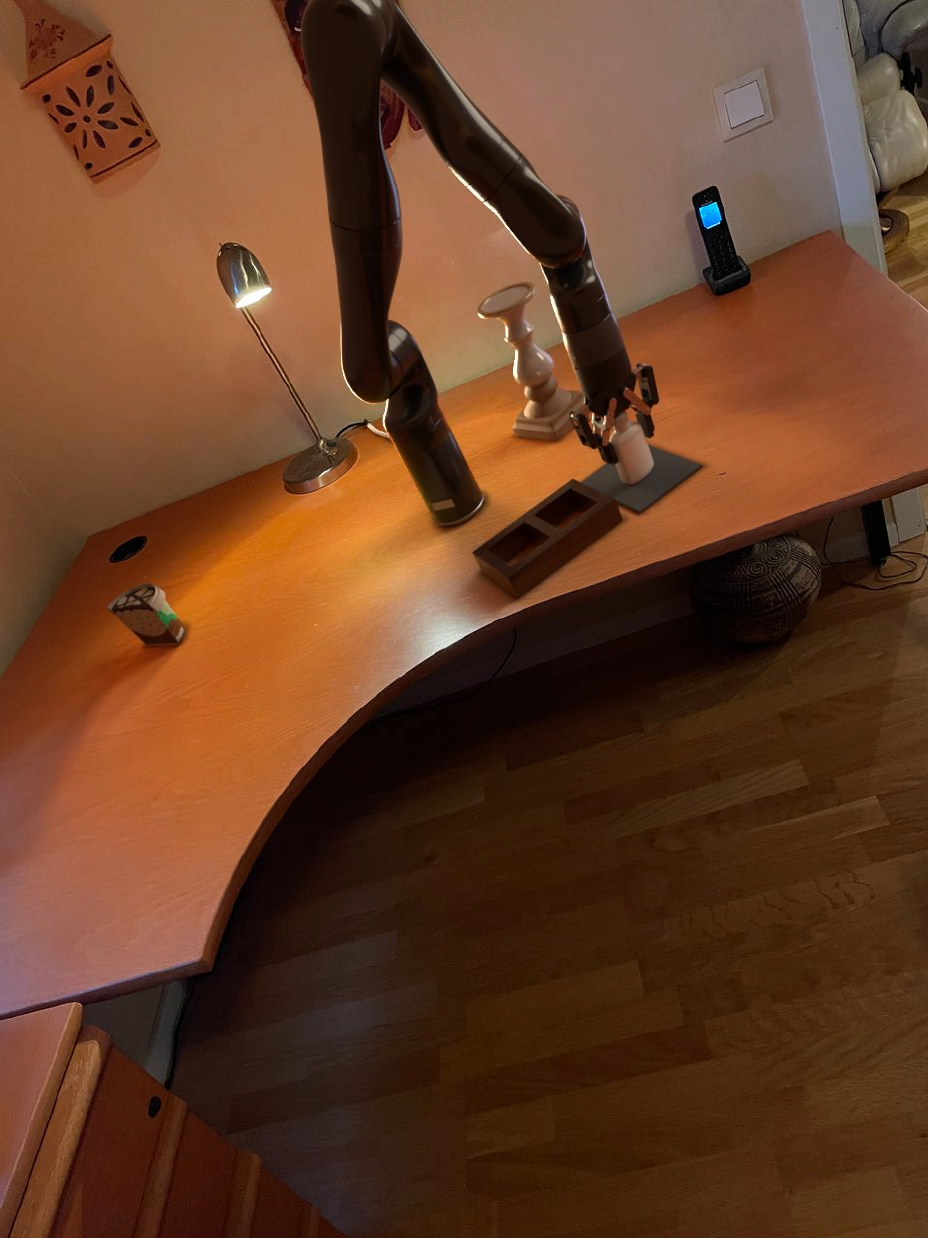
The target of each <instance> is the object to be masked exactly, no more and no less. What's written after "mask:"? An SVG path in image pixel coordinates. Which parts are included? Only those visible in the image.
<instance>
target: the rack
mask: <svg viewBox="0 0 928 1238" xmlns="http://www.w3.org/2000/svg"><path fill="white" fill-rule="evenodd" d="M581 482H582V481H579V480H577V479H575V478H571V479H570V480H569V481H567V482H566V483H565V484H563V485H562V486H560V487H559V488H557V489H556V490H555V491H554V492H552V493H550V494H549V495H547V497H545V498H543V499H542V500H541V501H540V502H538V503H537V504H536V505H534V506H533V507H532V508H530V509H529V510H527V511H526V512H524V514H522V515H521V516H519V517H518V518H517V519H515V520H513V521H512V522H511V523H509V524H508V525H507V526H505V527H504V528H503V529H501V530H500V531H499V532H497V533H496V534H495V535H493V536H492V537H490V538H489V539H488V540H487V541H485V542H484V543H483V544H481V545H480V546H478V547H477V548H476V549H474V550H472V551H471V554H472V555H473V558H474V560H475V561H476V563H477V565H478V567H479V569H480V571H481V573H483V574H484V575H486V576H487V577H488V578H490V579H491V580H492V581H493V582H495V583H496V584H497V585H499V586H500V587H502V588H503V589H505V591H507V592H509V594H511V595H513V596H514V597H515V598H516V599H519V600H520V598H522V597H523V596H524V595H526V594H528V593H529V592H530V591H531V590H533V589H534V588H535V587H537V586H538V585H539V584H541V583H542V582H543V581H544V580H546V579H547V578H549V576H551V575H553V574H554V573H556V571H558V570H559V569H561V568H562V567H563V566H564V565H566V564H567V563H569V562H570V561H571V560H572V559H574V558H575V557H576V556H577V555H579V554H580V553H582V552H583V551H584V550H586V549H587V548H588V547H590V546H591V545H592V544H594V543H595V542H596V541H598V540H599V539H600V538H602V537H603V536H604V535H605V534H607V533H608V532H609V531H611V530H612V529H613V528H615V527H616V526H618V525H619V524H620V523H621V522H623V521H624V519H623V516H622V514H621V510H620V507H619V504H618V502H616V499H615V498H613V497H611V496H609V495H606V494H604V493H602V492H600V491H598V490H596V489H594V488H592V487H589V486H587V485H585V484H583V483H581ZM578 510H579V511H582V512H583V513H582V514H580V515H578V516H577V517H576V518H575V519H573V520H572V521H570V522H569V523H568V524H567V525H565V526H563V528H561V529H559V528H558V527H557V526H558V525H559V524H560V523H563V521H565V520H566V519H567V518H569V517H570V516H572V515H573V514H574V513H575V512H577V511H578ZM533 543H535V544H536V545H538V546H537V547H536V548H534V549H533V550H531V551H530V552H529V553H527V554H526V555H525V556H524V557H522V558H521V559H519V560H518V561H517V562H515V563H514V564H512V565H511V564H509V563H508V562H509V561H510V560H512V559H513V558H515V557H517V555H518V554H520V553H521V552H523V551H524V550H525V549H527V548H528V547H529V546H531V545H532V544H533Z"/></svg>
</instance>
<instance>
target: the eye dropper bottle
mask: <svg viewBox="0 0 928 1238" xmlns="http://www.w3.org/2000/svg"><path fill="white" fill-rule="evenodd" d="M628 415H629V414H628V412H627V410H626V411H623V412H621V413H620V414H619V415H618V417H616V418H615V419H614V421H613V432H612V433H611V434H610V438H609V442H611V443H612V446H613V449H614V452H615V455H616V457H617V460H618V463H616V467H617V470H618V473H619V476H620V478H621V481H622V482H623V483H625V484H629V485H633V484H635V483H637V482H639V481H641V480H642V479H643V478H645V477H646V476H647V475H648V474H649V473H650V471H651V470H652V468H653V466H654V462H653V459H652V456H651V453H650V449H649V446H648V445H649V443H648V441H647V437H645V434H644V431H643V428H642V426H641V424H639V423H638V422H637V421H630V418H629V416H628Z"/></svg>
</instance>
